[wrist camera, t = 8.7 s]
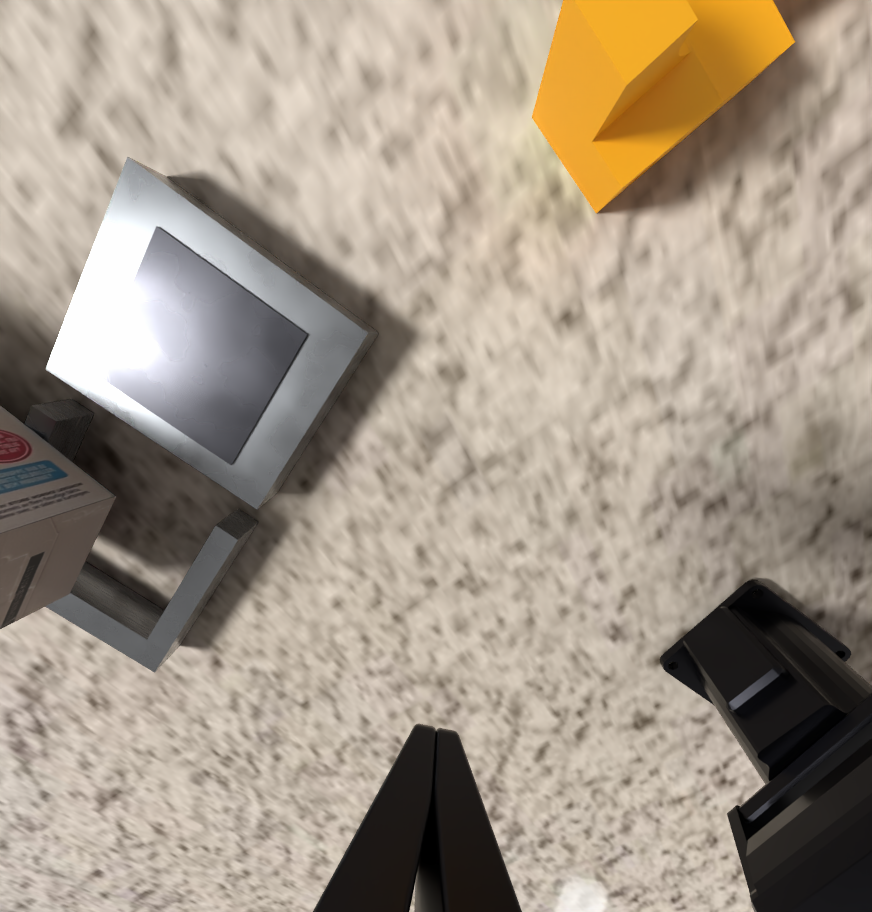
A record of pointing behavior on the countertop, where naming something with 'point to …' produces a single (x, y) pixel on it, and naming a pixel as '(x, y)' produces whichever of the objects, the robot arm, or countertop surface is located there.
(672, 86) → the pipe clamp
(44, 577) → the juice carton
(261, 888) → the countertop surface
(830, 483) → the countertop surface
